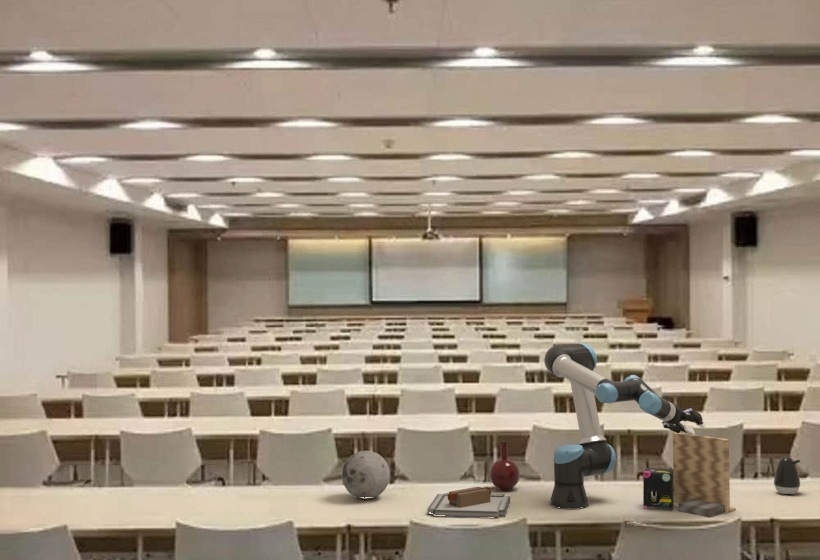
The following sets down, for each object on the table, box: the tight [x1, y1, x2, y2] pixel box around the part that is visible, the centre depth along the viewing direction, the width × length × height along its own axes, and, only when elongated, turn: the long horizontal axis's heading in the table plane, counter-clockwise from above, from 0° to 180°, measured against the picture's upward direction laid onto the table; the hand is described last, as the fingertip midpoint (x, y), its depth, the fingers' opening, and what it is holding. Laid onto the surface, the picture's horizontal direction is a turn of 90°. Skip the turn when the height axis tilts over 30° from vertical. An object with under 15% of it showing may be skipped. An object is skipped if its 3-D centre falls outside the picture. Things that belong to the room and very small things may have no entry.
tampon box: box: [642, 467, 675, 511], centre depth 396 cm, size 11×9×15 cm
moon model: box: [341, 450, 391, 498], centre depth 421 cm, size 20×20×20 cm
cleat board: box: [672, 432, 737, 518], centre depth 392 cm, size 24×16×28 cm, turn 40°
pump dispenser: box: [773, 456, 801, 495], centre depth 415 cm, size 10×10×15 cm
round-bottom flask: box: [489, 442, 521, 491], centre depth 433 cm, size 13×13×20 cm
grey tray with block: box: [427, 486, 511, 519], centre depth 400 cm, size 30×30×8 cm
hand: (698, 428), depth 398 cm, fingers open, 4 cm apart
